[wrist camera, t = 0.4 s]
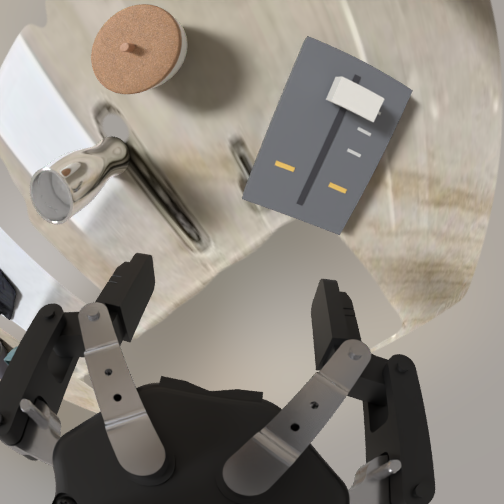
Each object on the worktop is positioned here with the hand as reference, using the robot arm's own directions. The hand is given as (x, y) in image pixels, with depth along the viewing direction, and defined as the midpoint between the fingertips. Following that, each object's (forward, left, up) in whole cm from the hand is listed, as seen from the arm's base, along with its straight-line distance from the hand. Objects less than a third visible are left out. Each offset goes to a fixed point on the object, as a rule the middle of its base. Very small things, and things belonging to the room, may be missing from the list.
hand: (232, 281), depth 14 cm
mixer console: (-5, +7, -27) cm, 28 cm away
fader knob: (-11, +7, -24) cm, 27 cm away
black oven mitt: (+54, -57, -28) cm, 83 cm away
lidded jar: (-9, -17, -27) cm, 33 cm away
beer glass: (+7, -20, -27) cm, 34 cm away
